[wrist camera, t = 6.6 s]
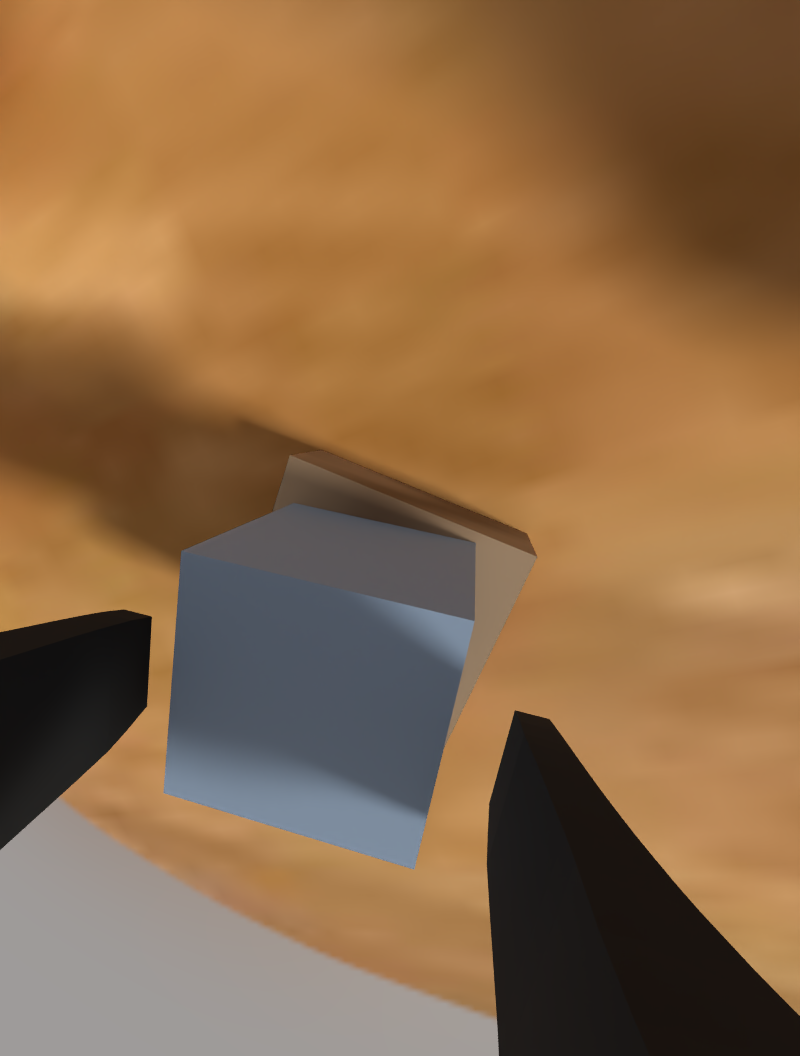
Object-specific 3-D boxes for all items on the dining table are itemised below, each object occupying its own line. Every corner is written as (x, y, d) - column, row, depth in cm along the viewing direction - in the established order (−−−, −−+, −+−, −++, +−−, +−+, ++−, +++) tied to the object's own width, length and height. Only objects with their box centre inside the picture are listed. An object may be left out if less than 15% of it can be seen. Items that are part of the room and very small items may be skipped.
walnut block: (525, 531, 15) (537, 556, 12) (442, 707, 17) (434, 766, 14) (325, 449, 15) (290, 455, 12) (266, 628, 17) (222, 670, 14)
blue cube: (475, 542, 12) (474, 621, 7) (436, 708, 13) (414, 869, 8) (293, 502, 13) (181, 551, 8) (272, 665, 14) (164, 792, 9)
